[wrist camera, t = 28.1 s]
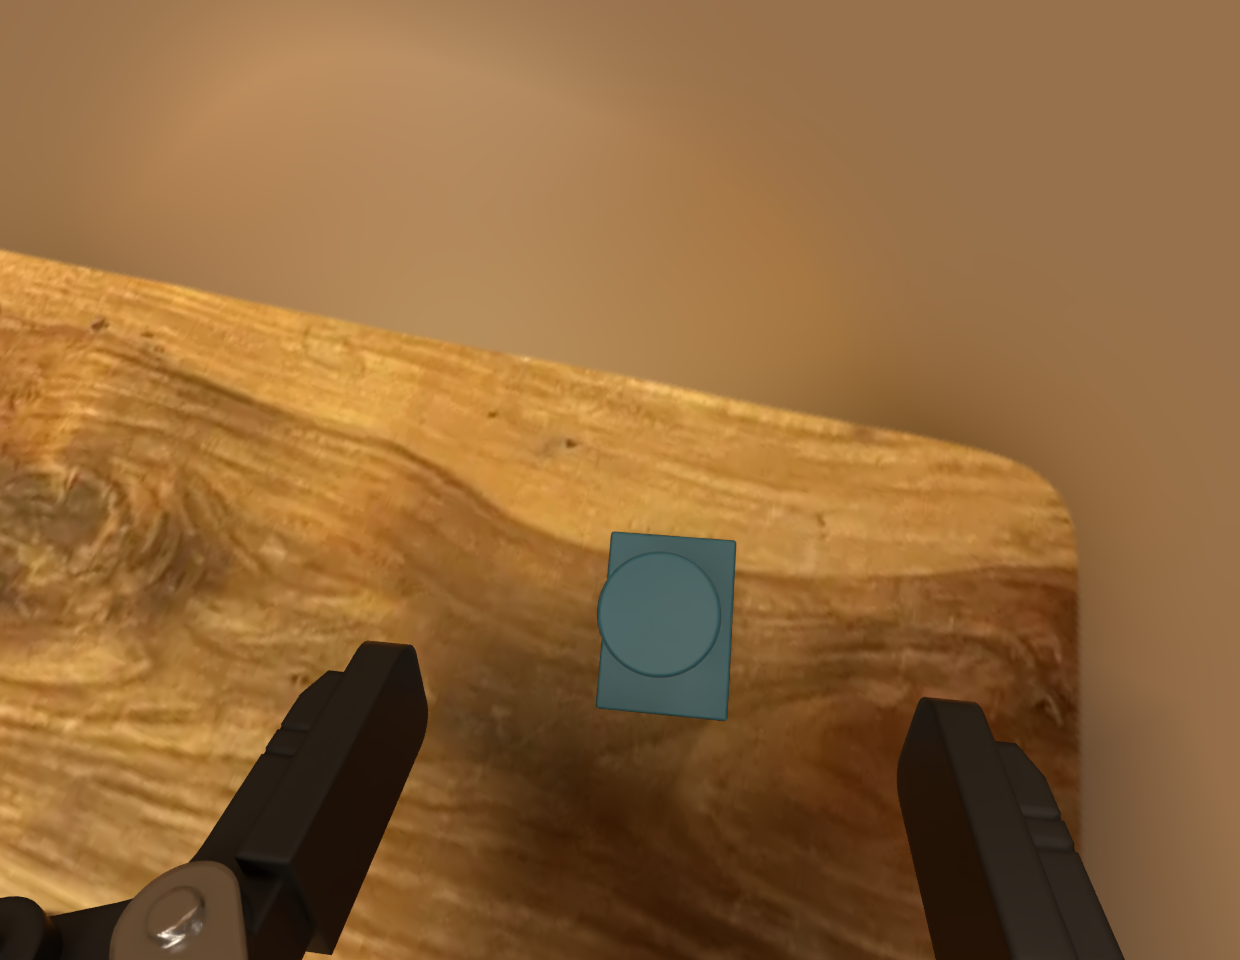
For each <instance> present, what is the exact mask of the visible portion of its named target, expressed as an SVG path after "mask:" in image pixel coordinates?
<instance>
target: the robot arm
mask: <svg viewBox="0 0 1240 960" xmlns="http://www.w3.org/2000/svg"><path fill="white" fill-rule="evenodd" d="M427 720H428V706H427V700H426V696H425V691H424V686H423V682H422V677H421V673H420V668H419V663H418V659H417V654H416V651H415V648H414V647H413V646H412V645H408V644H398V643H387V642H377V641H365V642H364V643H362V644H361V645H360V647H359V648H358V649H357V651H356V653H355V654H354V656H353V658H352V659H351V661H350V663H349V664H348V666H347V668H346V669H345V671H344V672H339V671H330V670H328V671H327V672H326V673H325V674H324V675H323V676H321V677H320V678H319V679H318V680H317V681H315V682H314V683H313V684H312V685H311V686H309V687H308V688H307V689H306V690H305V691H304V692H302V693H301V694H300V695H299V697H298V698H297V700H296V702H295V703H294V705H293V706H292V708H291V709H290V711H289V712H288V714H287V715H286V717H285V719H284V720H283V722H282V723H281V728H280V730H279V729H277V731H276V733H275V734H274V736H273V737H272V739H271V740H270V742H269V743H268V745H267V746H266V751H265V753H264V754H261V756H260V757H259V759H258V760H257V762H256V763H255V765H254V767H253V768H252V770H251V771H250V773H249V774H248V776H247V777H246V779H245V780H244V782H243V784H242V785H241V787H240V788H239V790H238V791H237V793H236V794H235V796H234V797H233V799H232V801H231V802H230V804H229V805H228V807H227V808H226V810H225V811H224V813H223V815H222V816H221V818H220V819H219V821H218V822H217V824H216V825H215V827H214V828H213V830H212V832H211V833H210V835H209V836H208V838H207V839H206V841H205V842H204V844H203V845H202V847H201V848H200V849H199V851H198V852H197V854H196V855H195V856H194V857H193V858H192V859H191V860H190V861H189V863H186V864H183V865H181V866H178V867H175V868H173V869H171V870H169V871H167V872H165V873H164V874H162V875H160V876H159V877H157V878H156V879H154V880H153V881H152V882H150V883H149V884H148V885H147V886H146V887H144V888H143V889H142V890H141V891H140V892H139V893H138V894H137V895H136V896H135V897H134V898H132V899H129V900H126V901H122V902H118V903H113V904H108V905H103V906H99V907H94V908H89V909H84V910H80V911H75V912H70V913H65V914H60V915H56V916H51V917H48V915H47V914H46V913H45V912H44V911H43V910H42V909H41V907H40V906H39V905H38V904H37V903H36V902H34V901H33V900H31V899H28V898H25V897H19V896H15V897H4V898H0V960H302V958H303V956H304V954H305V952H306V951H307V952H314V953H320V954H327V955H332V953H333V951H334V949H335V946H336V944H337V942H338V939H339V937H340V935H341V932H342V930H343V928H344V925H345V923H346V921H347V918H348V916H349V914H350V911H351V909H352V907H353V904H354V902H355V900H356V897H357V895H358V893H359V890H360V888H361V886H362V883H363V881H364V879H365V876H366V874H367V872H368V869H369V867H370V865H371V862H372V860H373V858H374V855H375V853H376V851H377V848H378V846H379V844H380V841H381V839H382V836H383V834H384V832H385V829H386V827H387V825H388V822H389V820H390V818H391V815H392V813H393V811H394V808H395V806H396V804H397V801H398V799H399V797H400V794H401V792H402V790H403V787H404V785H405V783H406V780H407V778H408V776H409V773H410V771H411V769H412V766H413V764H414V762H415V759H416V757H417V755H418V752H419V750H420V748H421V745H422V743H423V739H424V736H425V732H426V727H427ZM897 789H898V797H899V802H900V807H901V811H902V815H903V820H904V824H905V828H906V833H907V837H908V841H909V846H910V850H911V854H912V859H913V863H914V867H915V872H916V876H917V880H918V884H919V889H920V893H921V897H922V902H923V906H924V910H925V915H926V919H927V923H928V928H929V932H930V936H931V941H932V945H933V949H934V954H935V958H936V960H1125V959H1124V957H1123V955H1122V952H1121V950H1120V948H1119V945H1118V943H1117V941H1116V939H1115V936H1114V934H1113V932H1112V929H1111V927H1110V925H1109V923H1108V920H1107V918H1106V916H1105V913H1104V911H1103V909H1102V906H1101V904H1100V902H1099V900H1098V897H1097V895H1096V893H1095V890H1094V888H1093V886H1092V884H1091V881H1090V879H1089V877H1088V874H1087V872H1086V870H1085V868H1084V865H1083V863H1082V861H1081V858H1080V856H1079V854H1078V853H1077V852H1075V850H1074V842H1073V840H1072V838H1071V835H1070V833H1069V831H1068V829H1067V826H1066V824H1065V822H1064V821H1062V820H1061V813H1060V810H1059V808H1058V806H1057V803H1056V801H1055V799H1054V797H1053V794H1052V792H1051V790H1050V787H1049V785H1048V783H1047V781H1046V778H1045V776H1044V775H1043V774H1042V773H1041V772H1040V771H1039V769H1038V768H1037V767H1036V766H1035V765H1034V764H1033V762H1032V761H1031V760H1030V759H1029V758H1028V757H1027V756H1026V754H1025V753H1024V752H1023V751H1022V750H1021V749H1020V747H1019V746H1018V745H1017V744H1016V743H1007V742H997V741H995V740H994V738H993V735H992V733H991V730H990V728H989V725H988V722H987V720H986V717H985V715H984V712H983V710H982V709H981V707H980V706H979V705H978V704H977V703H976V702H970V701H960V700H950V699H940V698H929V697H923V698H921V699H920V701H919V703H918V705H917V708H916V711H915V714H914V716H913V719H912V722H911V725H910V728H909V731H908V734H907V737H906V739H905V742H904V745H903V748H902V751H901V754H900V757H899V761H898V768H897Z"/></svg>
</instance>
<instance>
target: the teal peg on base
mask: <svg viewBox="0 0 1240 960" xmlns="http://www.w3.org/2000/svg"><path fill="white" fill-rule="evenodd" d="M735 558H736V541H734V540H720V539H707V538H693V537H680V536H666V535H652V534H639V533H625V532H612V534H611V542H610V553H609V564H608V575H607V581H606V583H605V584H604V586H603V589H602V591H601V594H600V597H599V601H598V607H597V620H598V627H599V631H600V634H601V637H602V642H601V654H600V665H599V676H598V687H597V698H596V707H597V708H599V709H609V710H619V711H629V712H639V713H649V714H659V715H669V716H679V717H689V718H699V719H709V720H719V721H726V720H727V716H728V696H729V677H730V657H731V637H732V617H733V598H734V578H735Z"/></svg>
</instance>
